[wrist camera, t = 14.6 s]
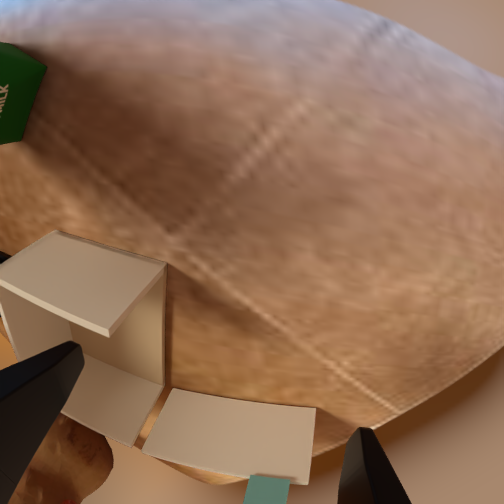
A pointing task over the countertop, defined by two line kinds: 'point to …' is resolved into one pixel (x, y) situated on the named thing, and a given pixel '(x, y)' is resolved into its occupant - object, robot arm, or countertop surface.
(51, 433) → the butternut squash
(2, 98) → the milk carton
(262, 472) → the carton flap
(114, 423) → the carton
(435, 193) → the countertop surface
